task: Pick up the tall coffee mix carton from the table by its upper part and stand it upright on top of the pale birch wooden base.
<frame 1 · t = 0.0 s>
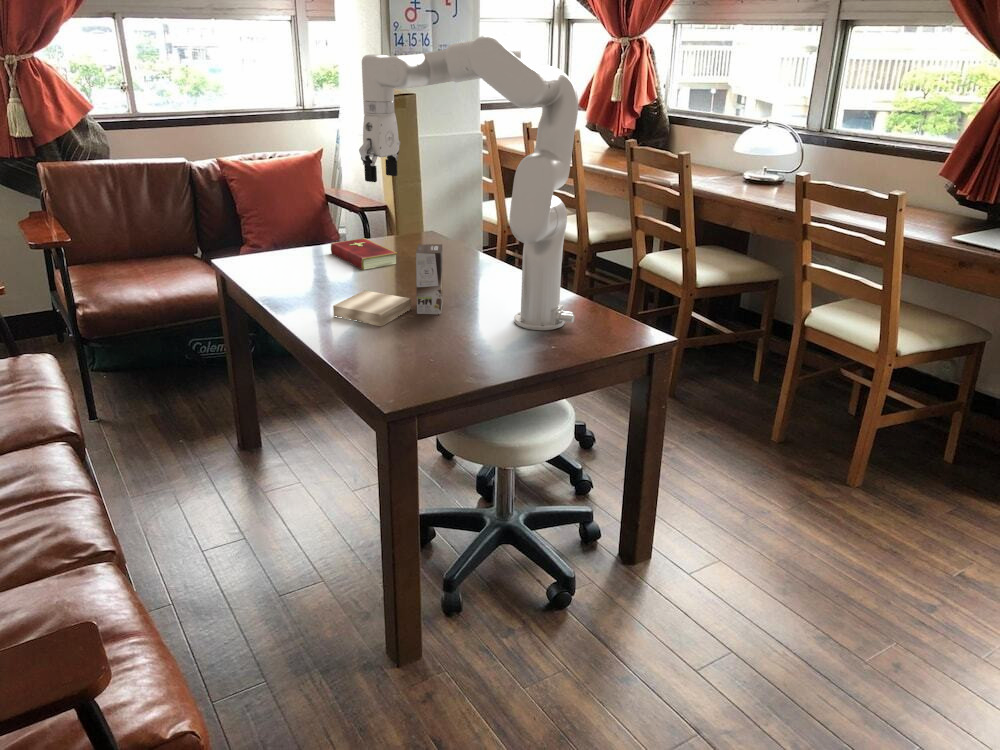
hand: (381, 178, 207), 31 cm above the table, tool pointing down, fingers open, 9 cm apart
hardcover book: (363, 260, 252), on the table
birch base: (373, 313, 206), on the table
coffee box: (430, 309, 211), on the table
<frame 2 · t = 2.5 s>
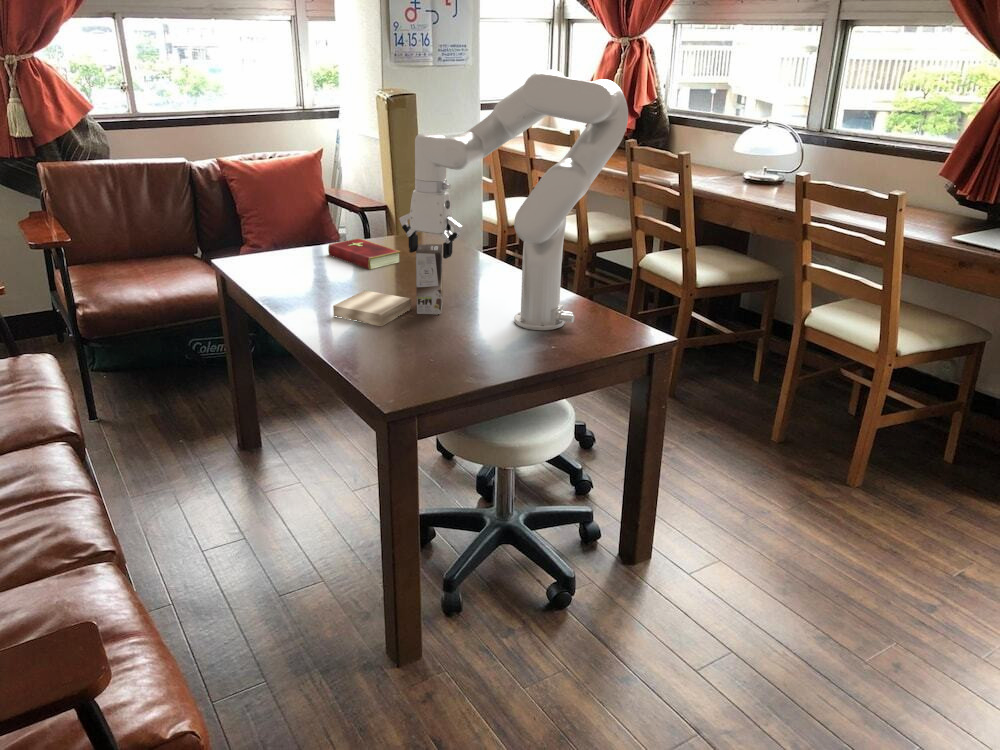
hand: (430, 254, 205), 14 cm above the table, tool pointing down, fingers open, 9 cm apart
coffee box: (430, 309, 211), on the table, touching gripper
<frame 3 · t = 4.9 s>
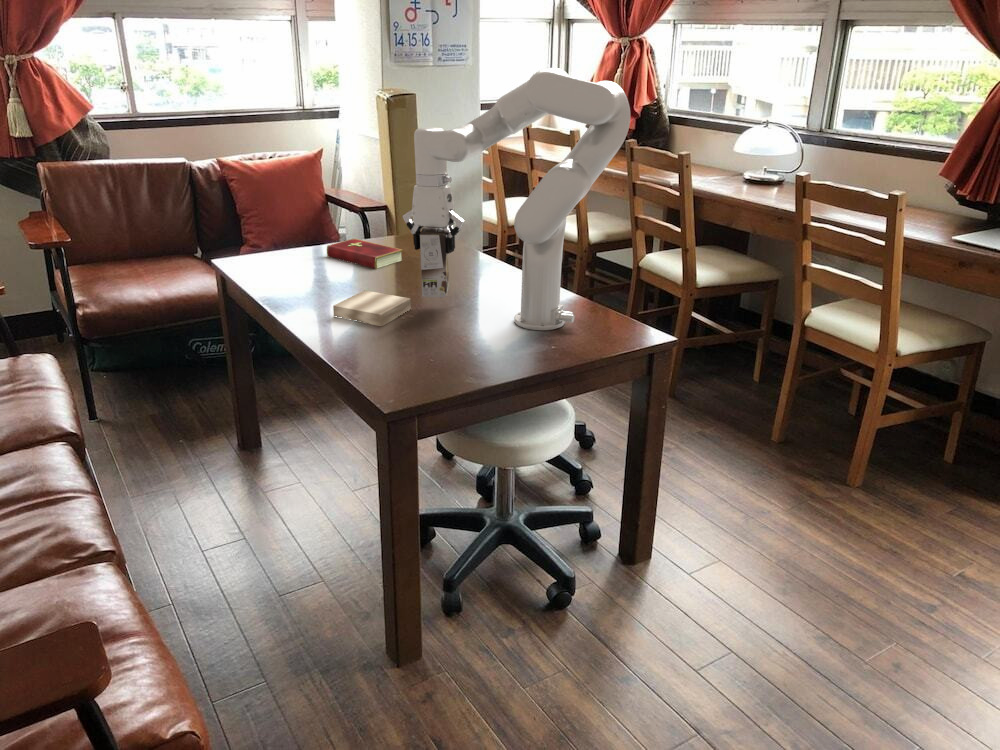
hand: (434, 250, 204), 16 cm above the table, tool pointing down, fingers closed on coffee box, 8 cm apart
coffee box: (436, 292, 208), point 4 cm above the table, touching gripper
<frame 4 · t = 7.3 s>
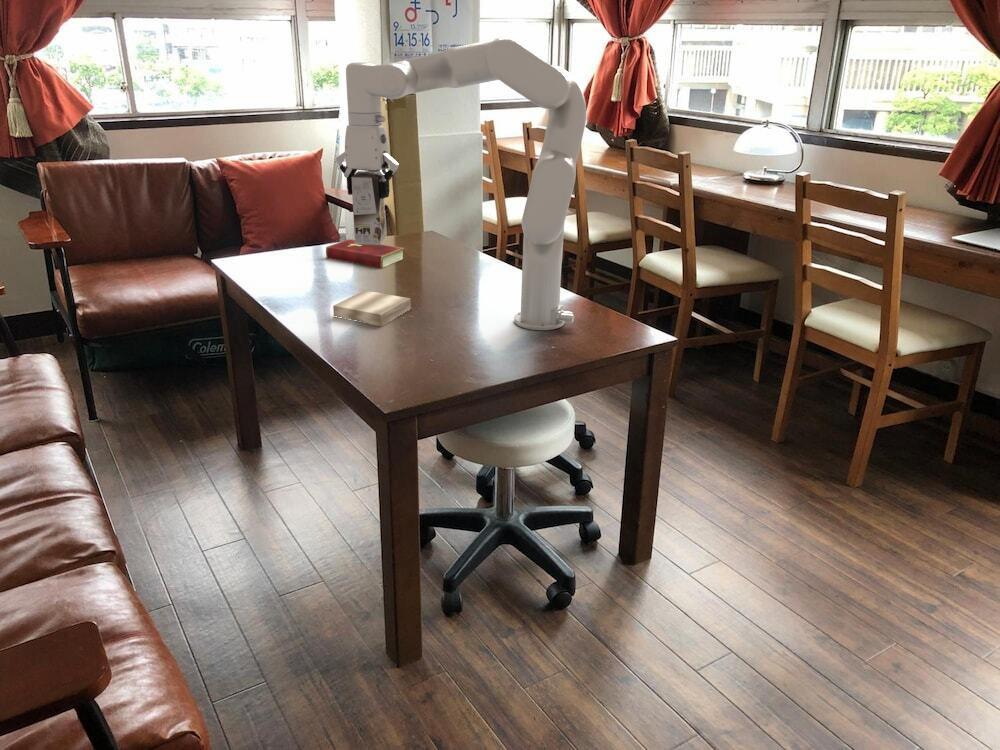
hand: (368, 195, 194), 30 cm above the table, tool pointing down, fingers closed on coffee box, 8 cm apart
coffee box: (370, 241, 199), point 19 cm above the table, touching gripper
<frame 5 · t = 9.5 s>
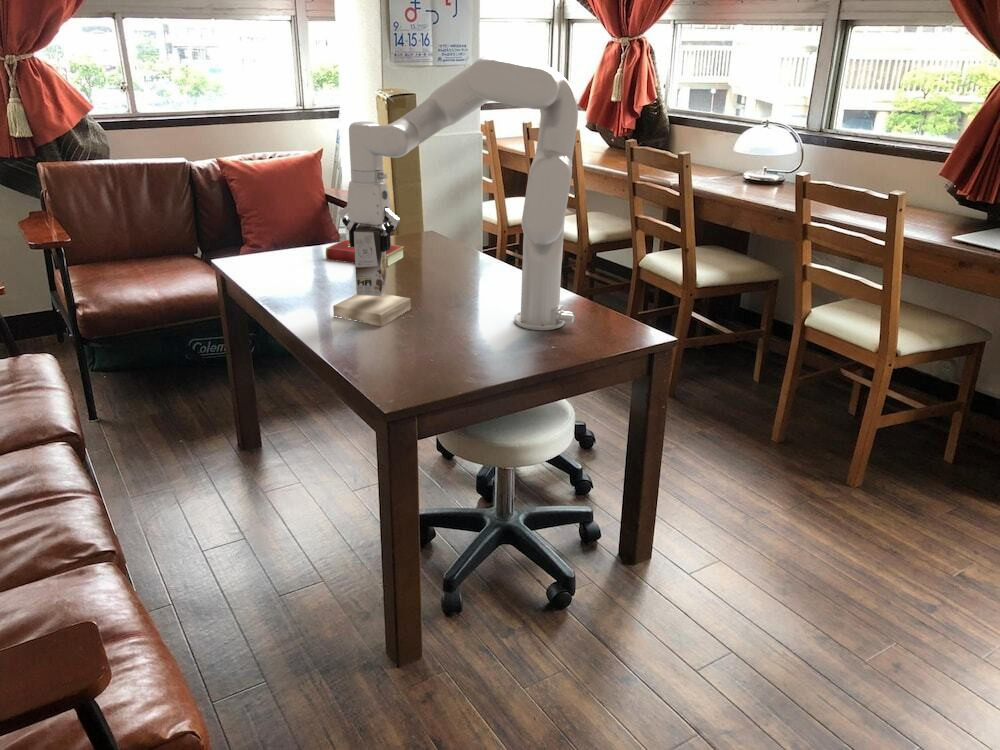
hand: (370, 247, 199), 17 cm above the table, tool pointing down, fingers closed on coffee box, 8 cm apart
coffee box: (372, 291, 204), point 6 cm above the table, touching gripper
when the fingers open (14 cm above the table, at t = 11.2 s): coffee box stays where it is, resting on birch base.
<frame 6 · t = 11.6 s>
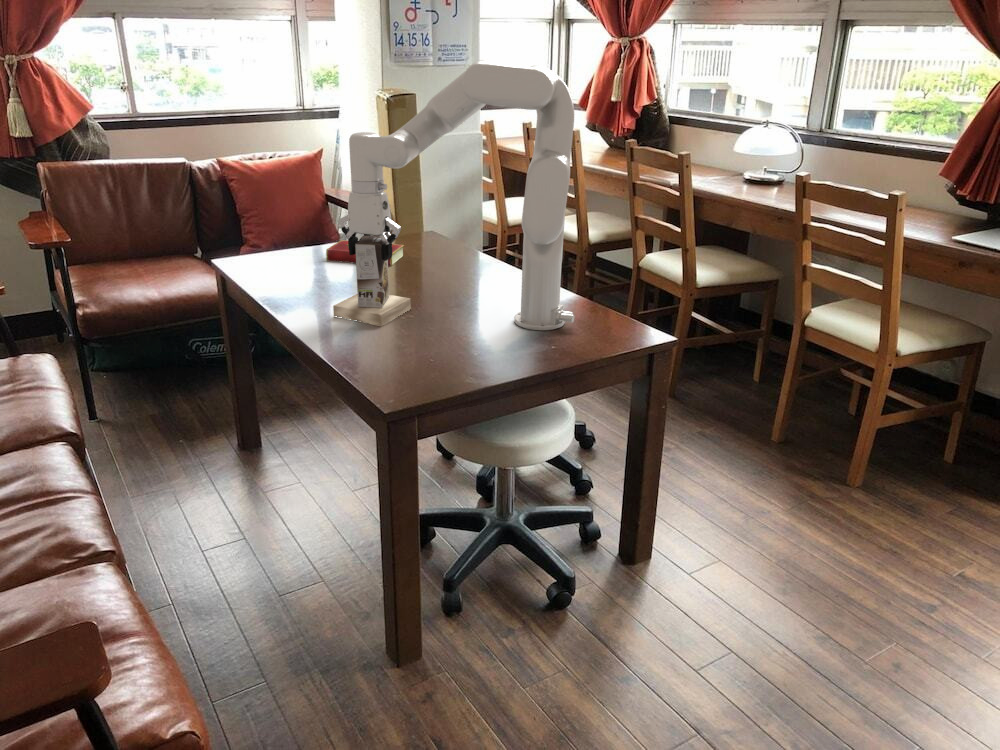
hand: (370, 256, 200), 15 cm above the table, tool pointing down, fingers open, 9 cm apart
coffee box: (374, 302, 205), point 3 cm above the table, touching birch base
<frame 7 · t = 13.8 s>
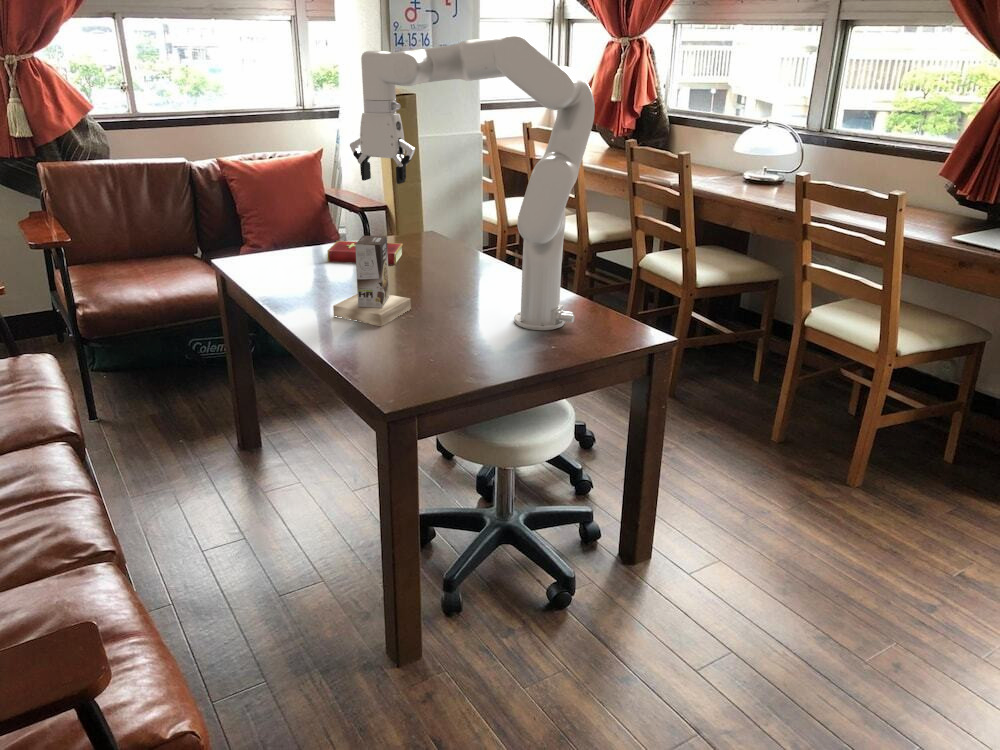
hand: (383, 181, 197), 32 cm above the table, tool pointing down, fingers open, 9 cm apart
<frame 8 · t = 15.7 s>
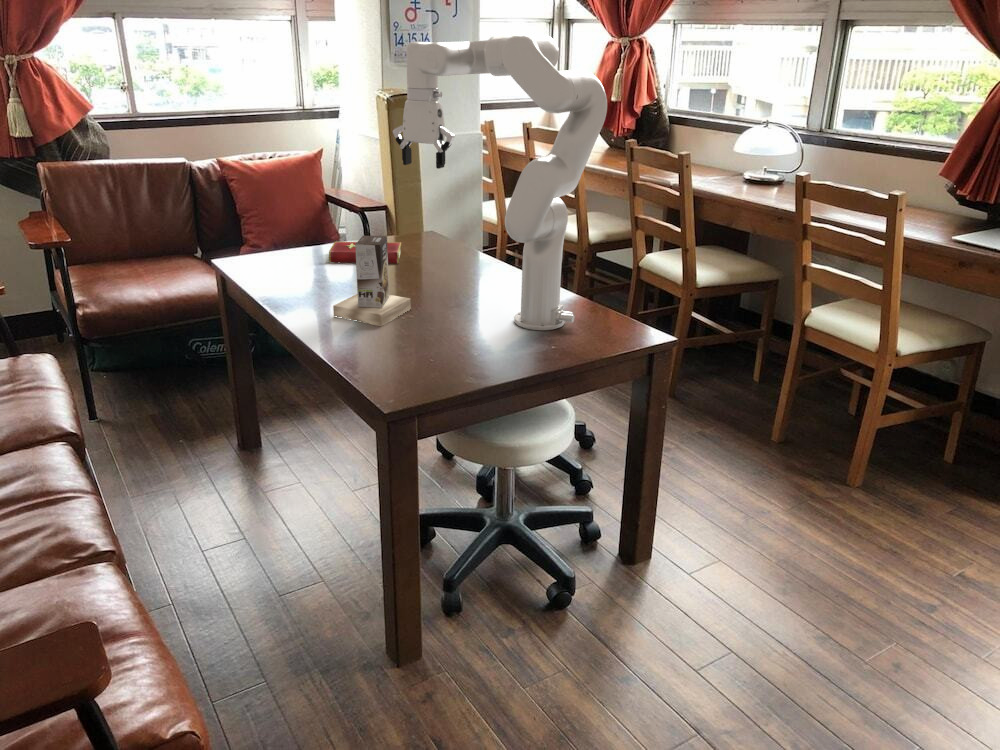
hand: (423, 166, 208), 34 cm above the table, tool pointing down, fingers open, 9 cm apart
at the end: coffee box 0.4 cm off-centre on the birch base, point 2.8 cm above the birch base's base; coffee box tilted 0°; the gripper is holding nothing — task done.
